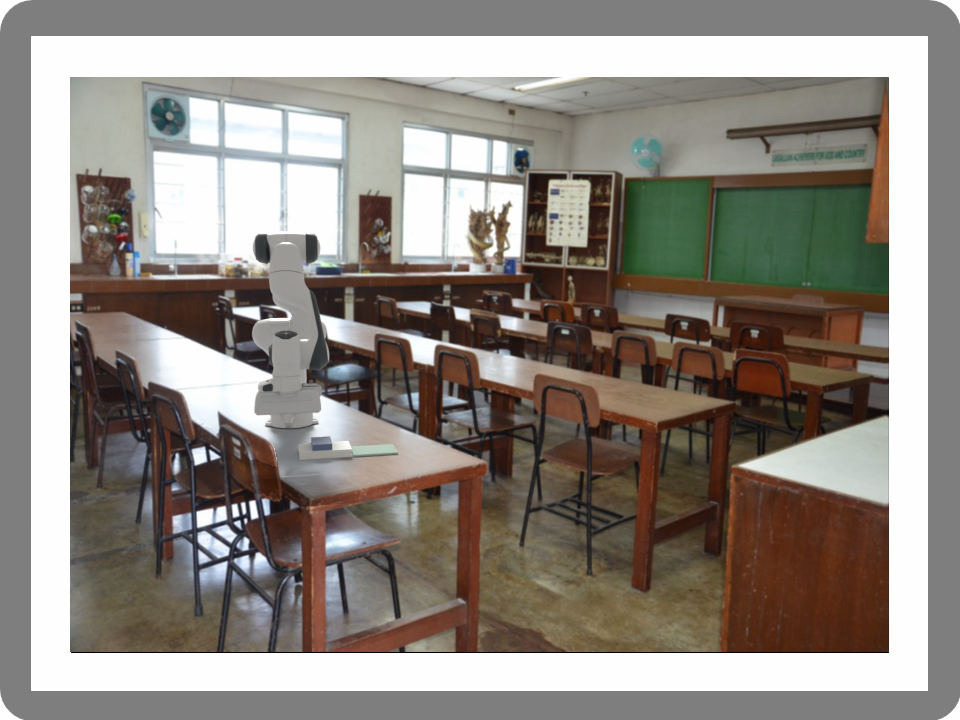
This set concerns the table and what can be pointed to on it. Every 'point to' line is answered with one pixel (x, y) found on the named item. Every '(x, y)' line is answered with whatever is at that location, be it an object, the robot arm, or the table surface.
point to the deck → (325, 451)
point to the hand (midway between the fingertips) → (288, 427)
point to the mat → (373, 450)
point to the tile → (321, 443)
